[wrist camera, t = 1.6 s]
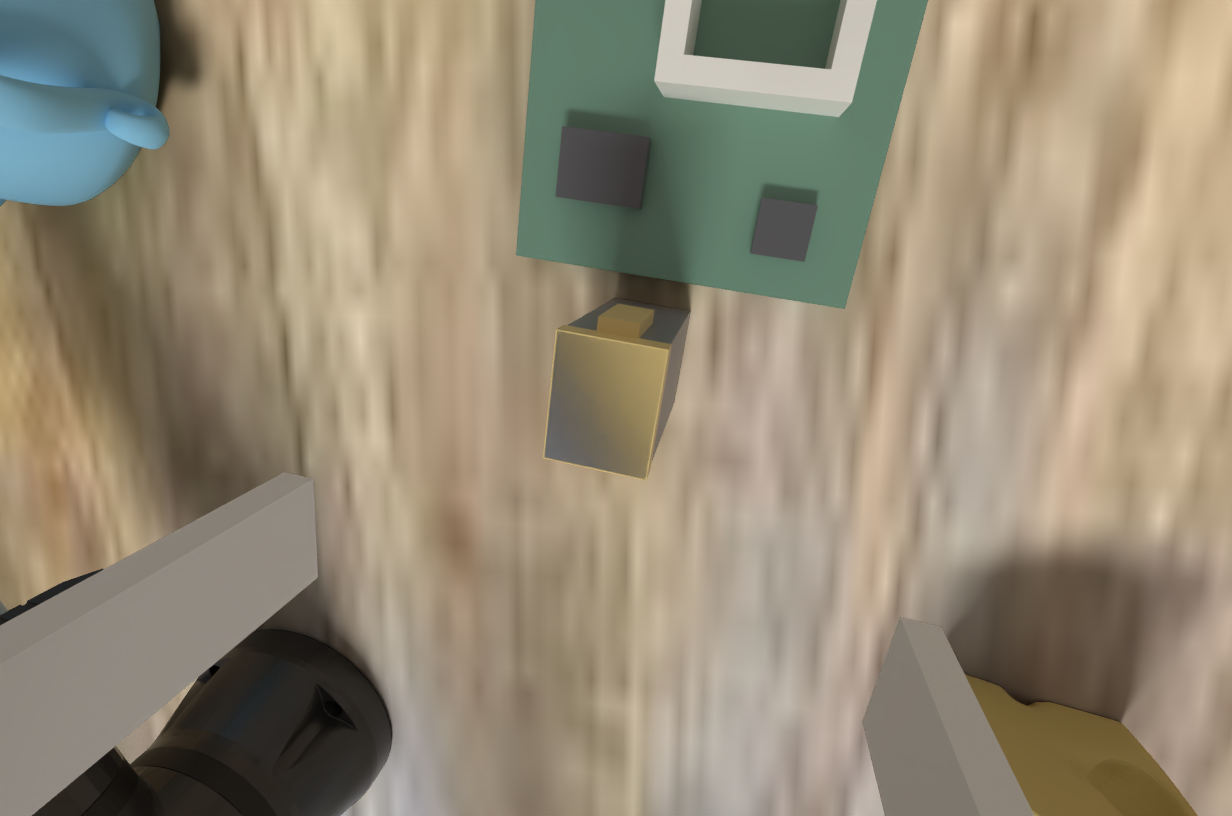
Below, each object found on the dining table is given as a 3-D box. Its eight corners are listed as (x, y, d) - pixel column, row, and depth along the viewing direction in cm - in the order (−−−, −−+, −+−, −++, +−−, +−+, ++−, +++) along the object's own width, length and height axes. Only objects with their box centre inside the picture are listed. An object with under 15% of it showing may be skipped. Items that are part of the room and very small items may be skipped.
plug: (601, 389, 31) (543, 458, 22) (615, 286, 30) (557, 314, 20) (674, 403, 31) (646, 480, 21) (693, 299, 29) (671, 334, 20)
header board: (526, 253, 30) (491, 258, 26) (562, -183, 24) (525, -269, 20) (839, 304, 28) (857, 318, 23) (965, -167, 22) (1018, -261, 17)
